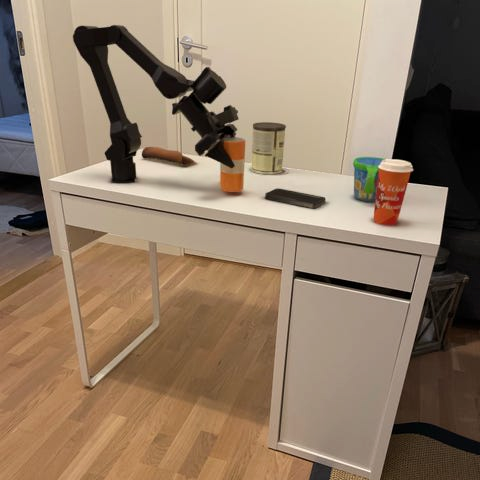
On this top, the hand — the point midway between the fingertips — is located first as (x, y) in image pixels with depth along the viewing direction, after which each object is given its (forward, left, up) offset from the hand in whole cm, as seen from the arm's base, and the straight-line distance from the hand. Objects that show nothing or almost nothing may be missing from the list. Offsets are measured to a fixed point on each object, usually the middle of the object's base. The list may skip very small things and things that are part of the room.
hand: (237, 164), depth 130 cm
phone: (+15, -7, -8) cm, 18 cm away
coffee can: (+14, +26, -8) cm, 31 cm away
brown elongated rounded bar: (-17, +39, -8) cm, 43 cm away
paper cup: (+33, -25, -8) cm, 42 cm away
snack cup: (+36, -6, -8) cm, 37 cm away
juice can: (-1, +1, -7) cm, 7 cm away
